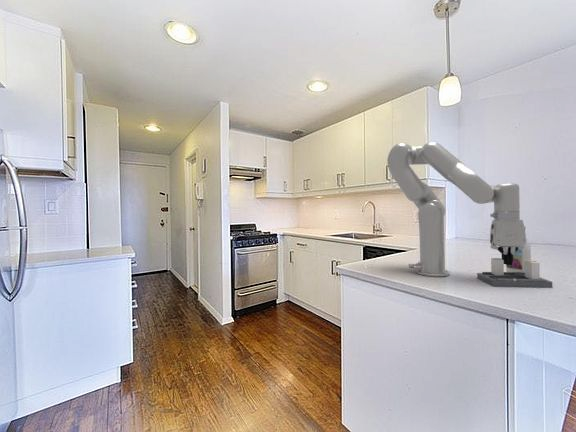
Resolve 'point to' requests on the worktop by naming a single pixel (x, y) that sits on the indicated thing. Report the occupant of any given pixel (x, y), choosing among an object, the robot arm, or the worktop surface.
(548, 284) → the dark grey tray
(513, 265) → the milk bottle
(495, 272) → the white rectangular block
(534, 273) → the front fader
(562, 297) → the worktop surface
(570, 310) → the worktop surface
